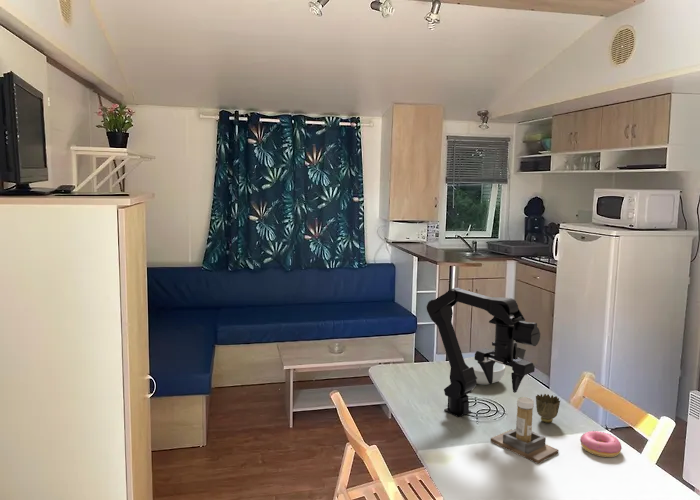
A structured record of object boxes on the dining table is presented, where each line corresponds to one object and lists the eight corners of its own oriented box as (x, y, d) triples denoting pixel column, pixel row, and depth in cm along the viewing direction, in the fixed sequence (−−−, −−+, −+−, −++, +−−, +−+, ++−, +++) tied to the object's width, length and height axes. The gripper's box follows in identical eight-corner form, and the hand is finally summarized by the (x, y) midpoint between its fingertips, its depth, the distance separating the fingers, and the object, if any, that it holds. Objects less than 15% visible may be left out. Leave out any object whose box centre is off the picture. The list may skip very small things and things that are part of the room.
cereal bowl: (452, 382, 208) (453, 365, 207) (469, 370, 222) (470, 354, 221) (495, 392, 198) (496, 374, 198) (510, 379, 212) (511, 362, 211)
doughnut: (629, 458, 152) (631, 444, 151) (594, 461, 150) (595, 447, 149) (605, 440, 162) (606, 427, 162) (571, 442, 161) (572, 429, 160)
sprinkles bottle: (533, 447, 155) (536, 402, 153) (518, 447, 154) (521, 402, 153) (527, 439, 159) (529, 396, 158) (512, 440, 159) (514, 396, 157)
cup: (560, 427, 170) (562, 403, 169) (536, 425, 172) (537, 401, 171) (556, 417, 177) (558, 394, 176) (533, 415, 179) (534, 392, 178)
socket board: (490, 441, 160) (491, 430, 160) (511, 432, 166) (511, 421, 166) (537, 463, 148) (538, 451, 147) (558, 453, 154) (559, 441, 153)
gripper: (546, 341, 164) (544, 391, 165) (496, 328, 178) (494, 374, 180) (524, 348, 157) (522, 399, 159) (474, 334, 172) (472, 381, 173)
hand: (502, 387), depth 168 cm, fingers open, 9 cm apart
